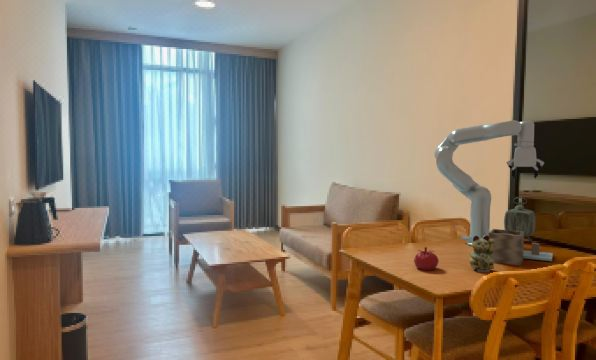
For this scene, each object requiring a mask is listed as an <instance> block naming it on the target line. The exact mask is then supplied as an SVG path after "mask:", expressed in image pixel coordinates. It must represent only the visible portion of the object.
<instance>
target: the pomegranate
mask: <svg viewBox="0 0 596 360" xmlns="http://www.w3.org/2000/svg"><path fill="white" fill-rule="evenodd" d="M423 248H424V249H423V250H420V249H418V250H417V254H416V255H415V257H414V259H413V263H414V265H415V266H414V267H416V268H417V269H419V270H422V271H432V270H434V269H436V268H437V267H438V265H439V261H440V260H439V257H438V256H437V255H436V254H435V253H436V251H434V250H432V249H431V250H428V247H426V246H424V247H423Z"/></svg>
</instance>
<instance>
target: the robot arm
mask: <svg viewBox="0 0 596 360" xmlns="http://www.w3.org/2000/svg"><path fill="white" fill-rule="evenodd" d="M510 136H517V142H514V143H513V145H514V146H516V147H515V148H514V149H515V150H514V156H513V158H511V159H510V160H508V161H506V164H507V166H508V168H509V169H510V170H511V177H513V178H514V179H515V178H516V172H517V171H516V169H517V168H521V167H522V168H529V167H530V168H531V167H532V168H533V169H534V176H533V177H534V179H537V177H538V175H539V173H538V172H539V170H540V169H541V168H543V166H544V164H545V162H544V161H543V160H541V159H539V158H537V150H536V149H537V148H536V147H534V146H535V143H534V142H535V123H534V121H532V120H525V121H524V120H523V121H519V120H514V119H513V120H507V121H501V122H496V123H489V124H479V125H474V126H468V127H462V128H457V129H453V130H451V131H450V132H449V133H448V135H446V137H445V138H444V140H443V141H441V143H440V144H439V145H438V146H437V148H436V149H435V151H434V158H435V161H436V166H437V167H436V168H437V170H438V171H439V173H440V174H441V175H442V176H443V177H444V178H446V180H448V182H450V183H452V186H453V187H454V188H455V189H456V190H457V191H458V192H460V194H462V195H463V196H465V197H466V199H469V200H470V201H471V203H470V214H469V215H470V217H469V218H470V219H469V221H470V223H469V226H470V227H469V235H468V236H466V235H461V240H463V241H464V240H465V241H466V245H467V246H471V247H473V246H472V242H473V237H474V236H478V237H479V239H482V238H483V237H484V236H485V235H488V236H489V232H490V231H491V230H490V225H491V223H490V220H491V217H490V216H491V215H490V213H491V203H492V193H491V190H489V189H488V188H487V187H485V186H482V185H480V184H479V183H478V182H476V181H475V180H474V179H473V178H472V176H471V175H470V174H467V173H466V172H465V171H463V170H462V169H461V168H460V167H458V165H456V164H455V162H454V161H453V157H454V156H453V155H454V152H455V151H456V150H457V149H458V148H459V146H461V145H467V144H473V143H478V142H479V143H480V142H486V141H489V140H494V139H497V138H505V137H510ZM512 163H513V166H512V165H511V164H512ZM537 163H539V166H537Z"/></svg>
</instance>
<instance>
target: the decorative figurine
mask: <svg viewBox="0 0 596 360" xmlns="http://www.w3.org/2000/svg"><path fill="white" fill-rule="evenodd" d="M494 242H495V240H494V239H489V236H488V235H485V236H484V237H483V238H482V239H479V237H478V236H474V237H473V242H472V246H471V247H472V248H473V250H472V251H470V254H469V256H470V258H469V259H468V260H469V264H470V267H471V268H473V270H474V269H475V270H476V272H479V273H480V272H481V273H490V271H491V269H492V270H493V269H495V266H494V265H495V261H494V259H492V258H490V255H491V254H492V253H493V252H494V248H493V243H494Z"/></svg>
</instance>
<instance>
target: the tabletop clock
mask: <svg viewBox="0 0 596 360" xmlns="http://www.w3.org/2000/svg"><path fill="white" fill-rule="evenodd" d="M516 199H524V200H525V202H523V203H522V201H519V202H515V200H516ZM512 202H513V203H514V204H515V205H516V206H515V207H514V208H512V209H509V210H506V211H505V213H504V221H503V225H504V226H503V227H504V230H512V231H524V237H527V238H528V240H529V242H530V243H533V239H532V238H531V236H532V235H534V233H535V230H536V225H537V218H536V213H535V211H533V210H530V209H526V208H525V206H524V205H525V204H527V203H528V200H527V198H525V197H523V196H516V197H514V198H513V200H512Z"/></svg>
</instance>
